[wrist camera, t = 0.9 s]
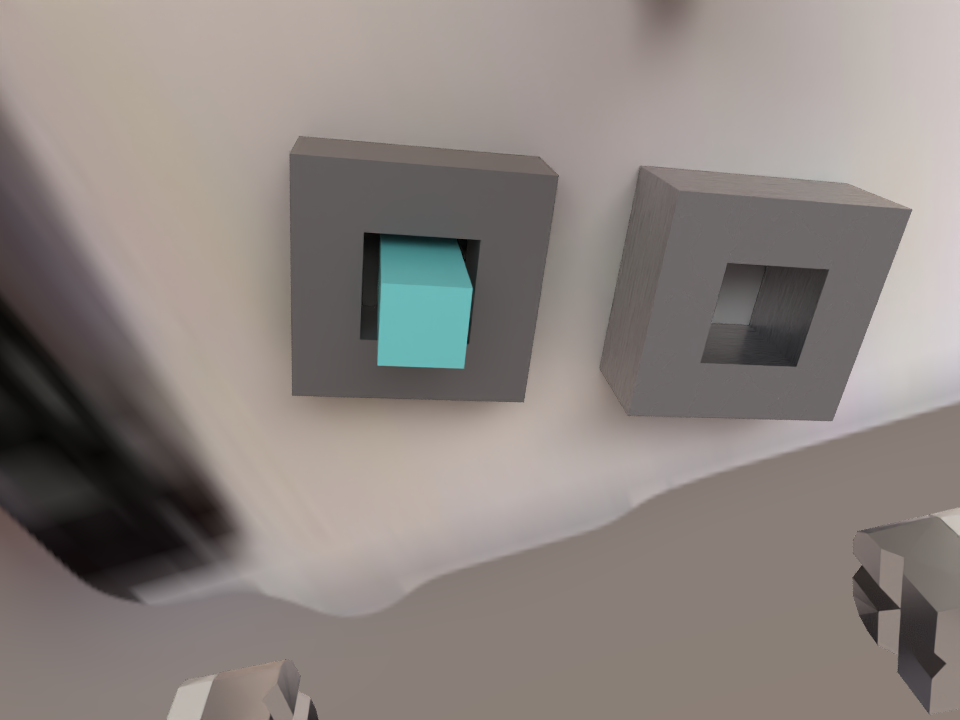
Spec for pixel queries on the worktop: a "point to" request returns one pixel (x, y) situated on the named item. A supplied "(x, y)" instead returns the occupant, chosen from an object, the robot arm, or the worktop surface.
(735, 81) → the worktop surface
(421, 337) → the plug
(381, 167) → the holster
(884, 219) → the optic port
